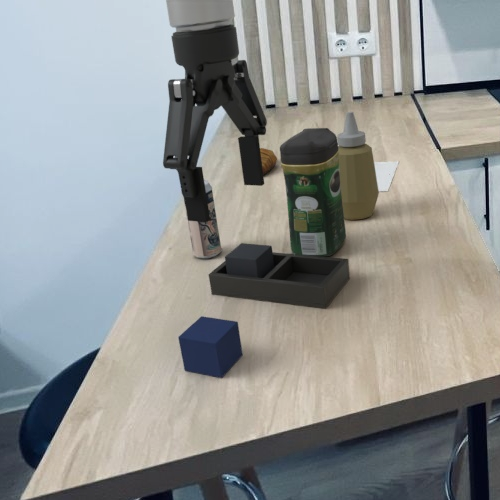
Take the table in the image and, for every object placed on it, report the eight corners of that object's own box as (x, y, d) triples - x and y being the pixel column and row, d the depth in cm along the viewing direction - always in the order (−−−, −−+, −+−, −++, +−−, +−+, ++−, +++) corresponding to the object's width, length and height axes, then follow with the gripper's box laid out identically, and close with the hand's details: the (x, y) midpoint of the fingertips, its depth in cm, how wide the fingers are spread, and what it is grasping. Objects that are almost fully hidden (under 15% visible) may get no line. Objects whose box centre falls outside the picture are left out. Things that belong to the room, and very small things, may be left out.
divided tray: (242, 267, 100) (239, 249, 99) (350, 278, 92) (348, 258, 91) (211, 294, 93) (208, 274, 92) (325, 309, 85) (323, 287, 84)
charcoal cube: (275, 273, 95) (271, 245, 93) (259, 289, 91) (255, 259, 90) (245, 270, 98) (241, 242, 96) (228, 285, 94) (224, 256, 92)
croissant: (254, 162, 156) (252, 141, 155) (282, 159, 155) (280, 139, 153) (243, 179, 144) (240, 157, 142) (274, 177, 143) (271, 154, 141)
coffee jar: (305, 235, 109) (294, 124, 102) (351, 237, 106) (343, 123, 99) (283, 258, 101) (270, 140, 94) (333, 262, 98) (322, 139, 91)
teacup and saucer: (359, 168, 141) (358, 149, 139) (353, 179, 134) (352, 160, 132) (319, 169, 143) (318, 151, 142) (311, 180, 137) (309, 161, 135)
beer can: (212, 261, 104) (200, 189, 99) (187, 258, 106) (175, 188, 102) (227, 249, 108) (217, 179, 103) (203, 247, 110) (192, 178, 105)
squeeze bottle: (342, 206, 120) (334, 107, 113) (385, 207, 116) (380, 106, 110) (327, 222, 114) (317, 118, 107) (372, 224, 110) (366, 117, 103)
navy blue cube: (243, 355, 77) (237, 321, 75) (221, 378, 73) (215, 343, 71) (207, 348, 79) (201, 315, 78) (184, 370, 75) (177, 336, 74)
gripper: (230, 17, 87) (250, 171, 95) (106, 44, 67) (145, 235, 75) (280, 11, 83) (297, 172, 91) (165, 39, 64) (199, 241, 72)
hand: (228, 201), depth 83 cm, fingers open, 13 cm apart
